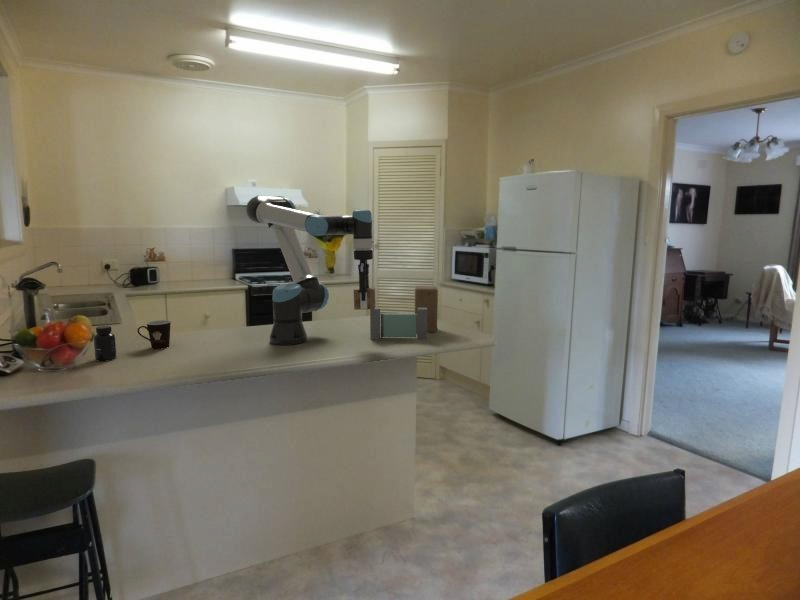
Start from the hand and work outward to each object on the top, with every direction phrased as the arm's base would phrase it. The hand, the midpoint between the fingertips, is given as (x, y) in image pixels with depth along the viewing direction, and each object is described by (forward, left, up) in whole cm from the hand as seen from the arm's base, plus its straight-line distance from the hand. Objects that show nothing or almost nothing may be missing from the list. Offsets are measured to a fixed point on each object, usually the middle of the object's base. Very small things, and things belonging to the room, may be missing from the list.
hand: (364, 307), depth 206 cm
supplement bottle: (-92, -24, -16) cm, 97 cm away
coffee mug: (-82, -6, -16) cm, 84 cm away
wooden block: (+26, +26, -16) cm, 40 cm away
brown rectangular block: (0, 0, 0) cm, 0 cm away
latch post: (+24, +11, -15) cm, 30 cm away
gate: (+13, +11, -15) cm, 23 cm away
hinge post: (+4, +11, -15) cm, 19 cm away
